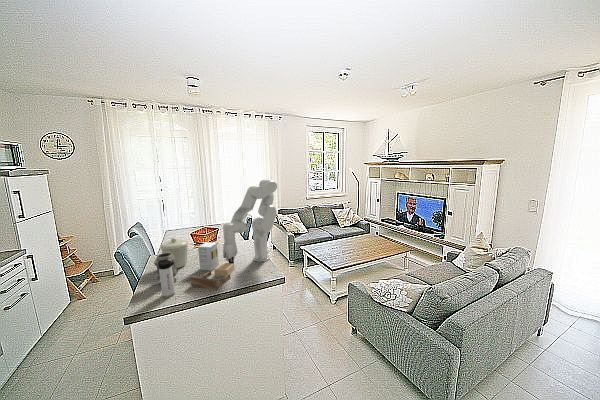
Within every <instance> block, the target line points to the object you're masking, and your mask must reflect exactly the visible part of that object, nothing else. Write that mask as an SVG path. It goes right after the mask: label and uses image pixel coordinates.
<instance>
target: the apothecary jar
mask: <svg viewBox="0 0 600 400" xmlns="http://www.w3.org/2000/svg"><path fill="white" fill-rule="evenodd" d="M163 260H170V261H171V265H172V272H173V281H174V284H175V283H176V282H177V278H176V276H177V274H178V271H179V270H178V268H177V269H176V268H175V265H174V262H175V261H176V258H175V256H173V255H172V253H170V252H168V253H162V252H161V253H159V254H157V255H156V258H155V260H154V262H153V265H154V266H156V270H157V272H156V273H155V279H156V280H159V283H158V285H159V286H160V287H161V281H160V274H159V265H158V262H159V261H163Z"/></svg>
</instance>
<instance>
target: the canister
mask: <svg viewBox="0 0 600 400" xmlns="http://www.w3.org/2000/svg"><path fill="white" fill-rule="evenodd" d="M188 244H189V241H188V240H186V239H183V238H176V237H171V238H170V240H168V241H164V242H163V243H162V244H160V246H159V248H160V250H161V254H162V253H168V252H170V253H172V255H173V256H175V258H176V261H175V262H174V265H175V268H176V269H177V270H178V269H180V268H183V267H184V266H186V265H187V263H188Z"/></svg>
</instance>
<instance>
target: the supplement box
mask: <svg viewBox="0 0 600 400" xmlns="http://www.w3.org/2000/svg"><path fill="white" fill-rule="evenodd" d="M197 249H198V259H199V270H200V271H211V272H212V271H214V269H215V268H216V267H217V266H219V265H220V264H219V263H220V261H219V251H218V250H219V249H218V242H207V241H206V242H204V243H202V244H201V245H199V246H198V247H197Z"/></svg>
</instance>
